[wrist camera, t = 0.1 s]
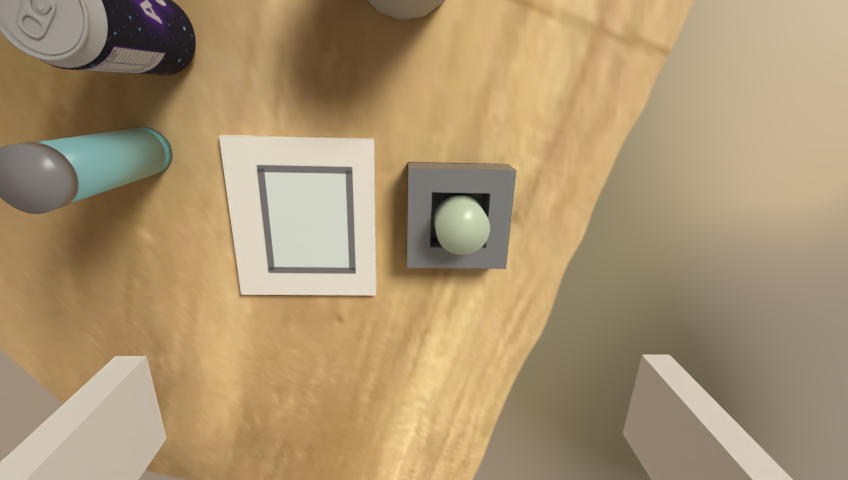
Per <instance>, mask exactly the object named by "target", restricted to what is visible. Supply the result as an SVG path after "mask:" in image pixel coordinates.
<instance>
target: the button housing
mask: <svg viewBox="0 0 848 480" xmlns="http://www.w3.org/2000/svg"><path fill="white" fill-rule="evenodd" d="M515 178H516V170H515V169H514V168H512V167H511V166H510V165H508V164H474V163H427V162H408V223H407V268H465V269H506V264H507V254H508V244H509V235H510V225H511V216H512V206H513V197H514V187H515ZM455 194H464V195H468V196H470V197H472V198H474V199H475V200H476V201H477V202H478V203H479V204H480V206H481V208H482V209H483V211H484V212H485V214H486V216H487V217H488V220H489V223H490V233H489V237H488V239H487V241H486V243H485V244H484V245H483V246H482V247H481V248H480V249H479V250H477V251H475V252H473V253H471V254H467V255H457V254H453V253H451V252H449V251H447V250H446V249H444V248H443V247H442V246H441V244H440V243H439V241H438V238H437V234H436V230H435V225H434V213H435V210H436V208H437V206H438V205H439V203H440V202H441V201H442V200H444V199H445V198H447V197H449V196H451V195H455Z"/></svg>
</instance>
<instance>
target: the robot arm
mask: <svg viewBox="0 0 848 480" xmlns="http://www.w3.org/2000/svg"><path fill="white" fill-rule="evenodd" d="M623 435H624V436H625V438H626V439H627V441H628V443H629V444H630V445H631V447H632V449H633V450H634V452H635V454H636V455H637V457H638V459H639V460H640V461H641V463H642V465H643V467H644V468H645V470H646V471H647V473H648V474H649V476H650V478H651V479H652V480H792V478H790V476H789V475H787V473H786V472H784V470H783V469H782V468H781V467H780V466H779V465H778V464H777V463H776V462H775V461H774V460H773V459H772V458H771V457H770V456H769V455H768V454H767V453H766V452H765V451H764V450H763V449H762V448H761V447H760V446H759V445H758V444H757V443H756V442H755V441H754V440H753V439H752V438H751V437H750V436H749V435H748V434H747V433H746V432H745V431H744V430H743V429H742V428H741V427H740V426H739V425H738V424H737V423H736V422H735V421H734V420H733V419H732V418H731V417H730V416H729V415H728V414H727V413H726V412H725V411H724V410H723V409H722V408H721V407H720V406H719V405H718V404H717V402H716V401H715V400H713V398H712V397H711V396H710V395H708V394H707V392H706V391H705V390H704V389H703V388H702V387H701V386H700V385H699V384H698V383H697V382H696V381H695V380H694V379H693V378H692V377H691V376H690V375H689V374H688V373H687V372H686V371H685V370H684V369H683V368H682V367H681V366H680V365H679V364H678V363H677V362H676V361H675V360H674V359H673V358H672V357H671V356H670V355H642V357H641V362H640V366H639V370H638V374H637V378H636V382H635V387H634V391H633V394H632V398H631V402H630V406H629V411H628V415H627V419H626V423H625V427H624V431H623ZM165 440H166V435H165V430H164V426H163V422H162V418H161V414H160V410H159V406H158V402H157V398H156V394H155V390H154V385H153V381H152V377H151V373H150V369H149V365H148V361H147V357H146V356H115V357H114V358H113V359H112V360H111V361H110V362H109V363H108V364H107V365H106V366H104V367H103V368H102V369H101V370H100V371H99V372H98V373H97V374H96V375H95V376H94V377H92V378H91V379H90V380H89V381H88V382H87V383H86V384H85V385H84V386H83V387H82V388H81V389H79V390H78V391H77V392H76V393H75V394H74V395H73V396H72V397H71V398H70V399H69V400H67V401H66V402H65V403H64V404H63V405H62V406H61V407H60V408H59V409H58V410H57V411H55V412H54V414H52V415H51V416H50V417H49V418H48V419H47V420H46V421H45V422H44V423H42V424H41V425H40V426H39V427H38V428H37V429H36V430H35V431H34V432H33V433H32V434H31V435H29V436H28V437H27V438H26V439H25V440H24V441H23V442H22V443H21V444H20V445H19V446H17V447H16V448H15V449H14V450H13V451H12V452H11V453H10V454H9V455H8V456H7V457H5V458H4V459H3V460H2V461H1V462H0V480H139V478H140V476H141V475H142V474H143V472H144V471H145V469H146V468H147V466H148V465H149V464H150V462H151V461H152V459H153V458H154V456H155V455H156V453H157V452H158V450H159V449H160V448H161V446H162V445H163V443H164V442H165Z"/></svg>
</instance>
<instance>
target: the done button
mask: <svg viewBox="0 0 848 480" xmlns="http://www.w3.org/2000/svg"><path fill="white" fill-rule="evenodd" d="M434 225H435V230H436V234H437V238H438V241H439V243H440V244H441V246H442V247H443V248H444V249H446V250H447V251H449V252H451V253H453V254H457V255H467V254H471V253H473V252H475V251H477V250H479V249H480V248H481V247H482V246H483V245H484V244H485V243H486V241H487V239H488V237H489V233H490V223H489V220H488V217H487V216H486V214H485V212H484V211H483V209H482V208H481V206H480V204H479V203H478V202H477V201H476V200H475V199H474V198H472V197H470V196H468V195H464V194H455V195H451V196H449V197H447V198H445V199H444V200H442V201H441V202H440V203H439V205H438V206H437V208H436V210H435V213H434Z"/></svg>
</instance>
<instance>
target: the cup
mask: <svg viewBox="0 0 848 480" xmlns="http://www.w3.org/2000/svg"><path fill="white" fill-rule="evenodd" d="M367 1H368V2H369V3H370V4H371V5H372V6H373V7H374V8H375V9H376V10H377V11H378V12H380V13H383V14H385V15H388V16H391V17H393V18H396V19H398V20H405V19H413V18H421V17H424V16H426V15H427V14H428V13H430V12H431V11H433V10H434V9H435V8H437V7H438V6H440V5H441V4H442V3H444V1H445V0H367Z"/></svg>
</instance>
